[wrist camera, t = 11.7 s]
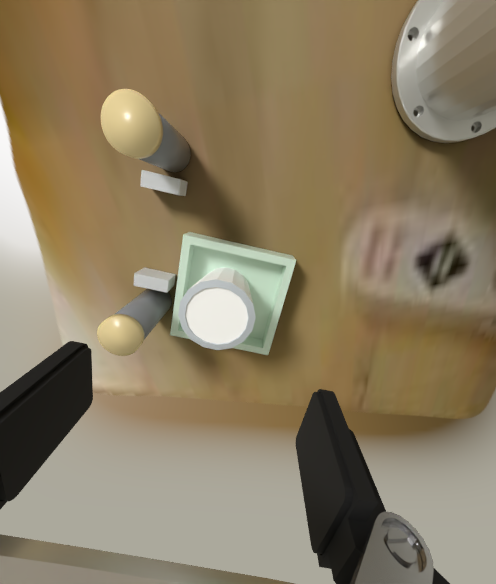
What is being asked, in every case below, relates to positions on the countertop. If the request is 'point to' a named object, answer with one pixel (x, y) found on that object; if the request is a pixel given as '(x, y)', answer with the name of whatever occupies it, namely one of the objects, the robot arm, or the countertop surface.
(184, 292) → the tray
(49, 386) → the robot arm
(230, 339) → the white cup
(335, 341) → the countertop surface
